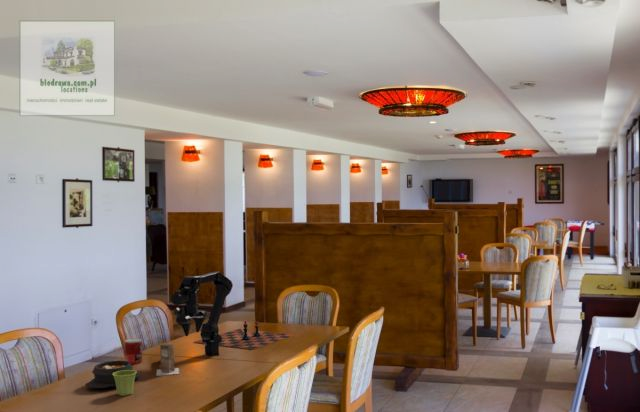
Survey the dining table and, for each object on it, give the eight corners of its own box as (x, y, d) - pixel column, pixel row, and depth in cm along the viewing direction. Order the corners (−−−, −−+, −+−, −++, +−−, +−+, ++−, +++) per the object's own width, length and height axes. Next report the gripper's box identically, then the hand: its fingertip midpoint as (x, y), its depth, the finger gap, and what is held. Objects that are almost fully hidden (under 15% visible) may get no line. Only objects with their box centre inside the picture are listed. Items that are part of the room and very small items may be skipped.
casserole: (106, 394, 278) (106, 374, 277) (75, 389, 287) (74, 369, 286) (149, 379, 299) (149, 360, 299) (119, 374, 308) (118, 356, 308)
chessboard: (252, 350, 349) (251, 329, 349) (193, 343, 370) (193, 323, 370) (295, 336, 383) (294, 317, 383) (239, 330, 404) (238, 312, 404)
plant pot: (116, 391, 282) (115, 370, 282) (139, 389, 283) (138, 369, 283) (111, 397, 273) (110, 376, 272) (134, 396, 273) (134, 375, 273)
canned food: (138, 364, 325) (137, 341, 325) (122, 364, 327) (121, 341, 326) (145, 360, 333) (144, 338, 332) (130, 360, 334) (129, 338, 334)
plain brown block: (166, 370, 312) (165, 343, 312) (174, 370, 311) (173, 343, 310) (161, 372, 309) (160, 345, 308) (169, 373, 307) (168, 345, 307)
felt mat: (178, 368, 316) (178, 367, 316) (179, 374, 306) (179, 373, 306) (156, 370, 313) (156, 369, 313) (156, 376, 304) (156, 375, 304)
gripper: (188, 298, 341) (189, 329, 341) (165, 304, 324) (166, 337, 324) (207, 299, 337) (208, 330, 337) (185, 305, 319) (186, 338, 320)
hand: (192, 334), depth 330 cm, fingers open, 9 cm apart
